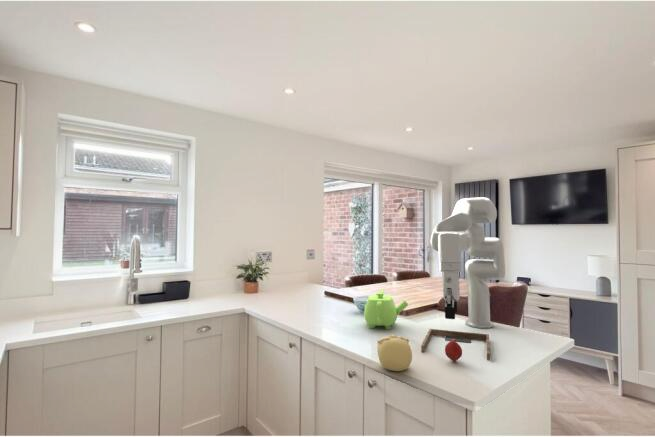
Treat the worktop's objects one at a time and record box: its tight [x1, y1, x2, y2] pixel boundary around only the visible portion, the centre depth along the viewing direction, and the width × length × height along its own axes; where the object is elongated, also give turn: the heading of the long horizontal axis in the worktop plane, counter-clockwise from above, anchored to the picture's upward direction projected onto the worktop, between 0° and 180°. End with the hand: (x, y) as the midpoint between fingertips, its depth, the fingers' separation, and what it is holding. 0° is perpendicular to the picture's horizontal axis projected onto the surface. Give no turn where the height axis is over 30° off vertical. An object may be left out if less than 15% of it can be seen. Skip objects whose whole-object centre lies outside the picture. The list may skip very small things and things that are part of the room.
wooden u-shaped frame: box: [420, 328, 491, 361], centre depth 139 cm, size 23×24×2 cm
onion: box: [444, 339, 463, 363], centre depth 124 cm, size 6×6×8 cm
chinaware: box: [353, 295, 370, 314], centre depth 198 cm, size 15×15×8 cm
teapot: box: [363, 289, 409, 330], centre depth 172 cm, size 25×22×16 cm
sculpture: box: [377, 334, 413, 372], centre depth 120 cm, size 11×12×11 cm
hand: (451, 315), depth 123 cm, fingers open, 9 cm apart
